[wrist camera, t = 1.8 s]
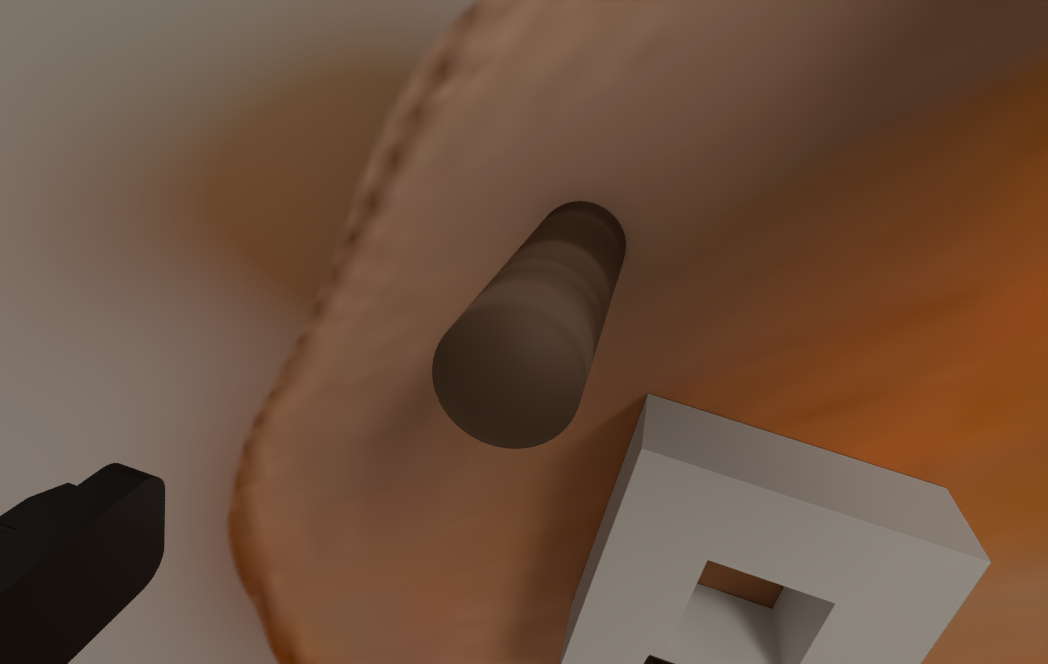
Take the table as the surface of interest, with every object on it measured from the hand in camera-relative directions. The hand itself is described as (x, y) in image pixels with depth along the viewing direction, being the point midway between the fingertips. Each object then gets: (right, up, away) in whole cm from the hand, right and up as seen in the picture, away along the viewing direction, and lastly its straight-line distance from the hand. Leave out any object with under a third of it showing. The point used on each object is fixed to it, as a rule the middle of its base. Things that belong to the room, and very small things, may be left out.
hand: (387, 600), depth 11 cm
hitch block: (+13, -7, +24) cm, 28 cm away
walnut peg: (+5, +8, +20) cm, 22 cm away
